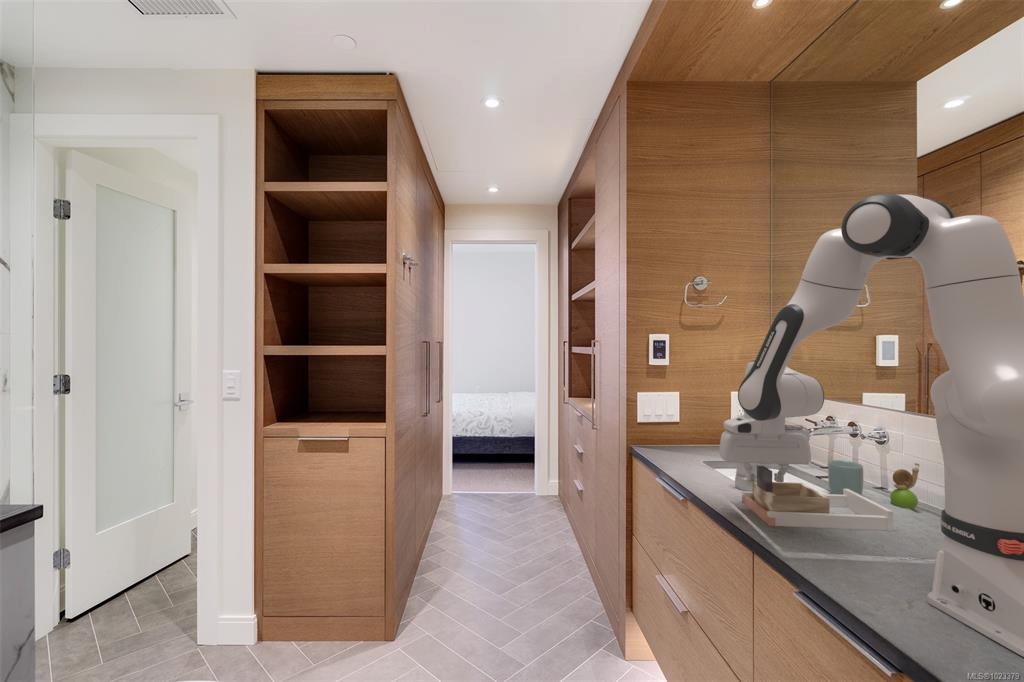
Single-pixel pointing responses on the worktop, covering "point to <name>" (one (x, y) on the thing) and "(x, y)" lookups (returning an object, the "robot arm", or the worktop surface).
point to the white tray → (868, 511)
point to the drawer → (786, 495)
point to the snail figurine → (904, 488)
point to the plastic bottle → (741, 477)
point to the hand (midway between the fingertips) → (764, 481)
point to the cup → (845, 477)
